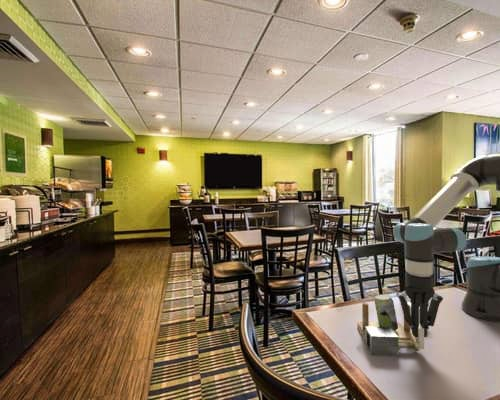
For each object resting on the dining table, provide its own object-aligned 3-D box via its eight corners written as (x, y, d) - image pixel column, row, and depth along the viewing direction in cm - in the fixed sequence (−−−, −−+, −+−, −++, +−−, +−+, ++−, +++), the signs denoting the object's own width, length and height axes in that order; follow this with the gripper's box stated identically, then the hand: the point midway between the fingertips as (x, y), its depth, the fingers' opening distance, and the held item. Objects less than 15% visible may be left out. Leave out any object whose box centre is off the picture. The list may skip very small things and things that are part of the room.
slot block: (390, 345, 87) (390, 327, 87) (398, 356, 81) (398, 337, 81) (365, 344, 88) (365, 326, 88) (371, 355, 82) (371, 336, 82)
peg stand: (405, 328, 98) (404, 299, 97) (418, 344, 88) (418, 311, 87) (357, 326, 100) (357, 298, 99) (365, 341, 90) (365, 310, 89)
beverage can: (400, 334, 90) (400, 300, 89) (377, 333, 91) (377, 299, 91) (394, 325, 96) (394, 293, 96) (372, 324, 97) (372, 292, 97)
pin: (414, 347, 85) (413, 336, 85) (419, 353, 82) (419, 342, 82) (380, 345, 87) (379, 334, 86) (384, 352, 83) (384, 341, 83)
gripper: (434, 269, 85) (434, 340, 86) (392, 269, 87) (392, 339, 88) (449, 277, 78) (449, 354, 79) (402, 276, 80) (403, 352, 80)
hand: (419, 346), depth 83 cm, fingers closed
